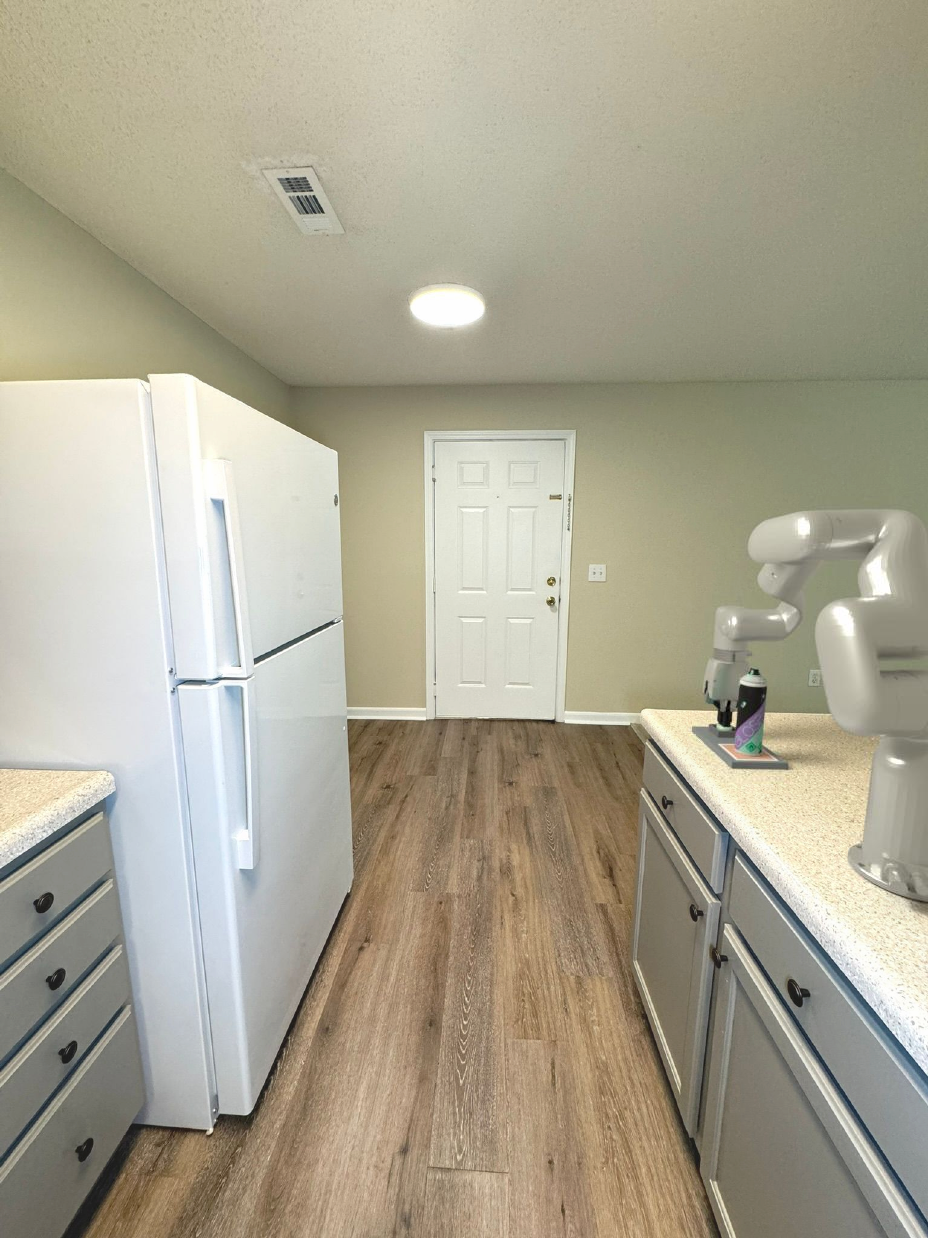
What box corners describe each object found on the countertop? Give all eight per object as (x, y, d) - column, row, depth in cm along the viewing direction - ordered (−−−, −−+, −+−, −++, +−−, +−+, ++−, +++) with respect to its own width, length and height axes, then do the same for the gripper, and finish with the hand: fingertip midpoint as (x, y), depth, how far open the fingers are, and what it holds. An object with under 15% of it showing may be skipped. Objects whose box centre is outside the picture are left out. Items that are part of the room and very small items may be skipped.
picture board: (787, 769, 109) (788, 756, 109) (731, 768, 110) (732, 755, 109) (737, 732, 131) (738, 721, 130) (691, 731, 132) (692, 720, 131)
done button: (734, 734, 124) (735, 728, 124) (720, 733, 124) (720, 727, 124) (727, 728, 128) (728, 723, 127) (713, 728, 128) (714, 722, 128)
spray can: (734, 754, 113) (741, 669, 111) (734, 745, 118) (740, 664, 115) (761, 758, 111) (769, 672, 108) (760, 750, 116) (767, 667, 113)
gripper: (752, 652, 126) (746, 720, 129) (692, 651, 127) (688, 719, 130) (768, 659, 119) (762, 731, 122) (705, 658, 120) (700, 730, 123)
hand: (724, 725), depth 126 cm, fingers closed
